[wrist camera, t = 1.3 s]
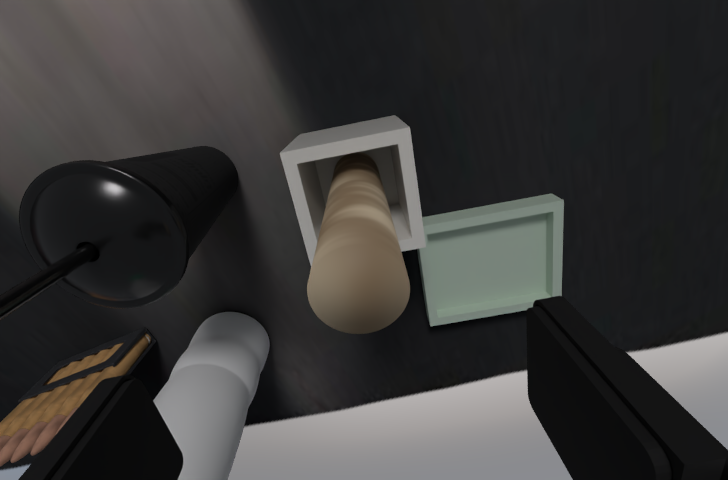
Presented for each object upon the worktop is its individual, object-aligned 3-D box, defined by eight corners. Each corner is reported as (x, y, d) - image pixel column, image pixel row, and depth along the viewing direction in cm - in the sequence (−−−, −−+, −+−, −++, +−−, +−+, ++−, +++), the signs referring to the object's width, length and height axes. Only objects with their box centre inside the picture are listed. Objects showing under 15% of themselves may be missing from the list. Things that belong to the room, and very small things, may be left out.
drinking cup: (140, 172, 30) (-199, 314, 12) (200, 106, 28) (-91, 148, 10) (214, 237, 32) (30, 439, 14) (274, 179, 30) (152, 325, 12)
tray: (551, 193, 32) (563, 200, 30) (550, 292, 35) (561, 304, 34) (412, 219, 32) (416, 227, 30) (426, 314, 36) (430, 326, 34)
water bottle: (186, 318, 36) (-122, 749, 13) (254, 300, 35) (61, 716, 12) (218, 373, 38) (12, 809, 15) (281, 356, 38) (167, 786, 15)
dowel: (374, 148, 29) (402, 235, 12) (382, 192, 30) (416, 325, 14) (329, 156, 29) (295, 255, 12) (339, 200, 30) (320, 341, 14)
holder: (394, 115, 29) (409, 127, 21) (408, 206, 32) (426, 247, 24) (299, 134, 29) (279, 152, 21) (322, 223, 32) (311, 268, 24)
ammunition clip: (146, 326, 36) (53, 434, 25) (157, 340, 37) (72, 452, 26) (57, 362, 37) (-68, 479, 26) (70, 375, 38) (-47, 495, 27)
